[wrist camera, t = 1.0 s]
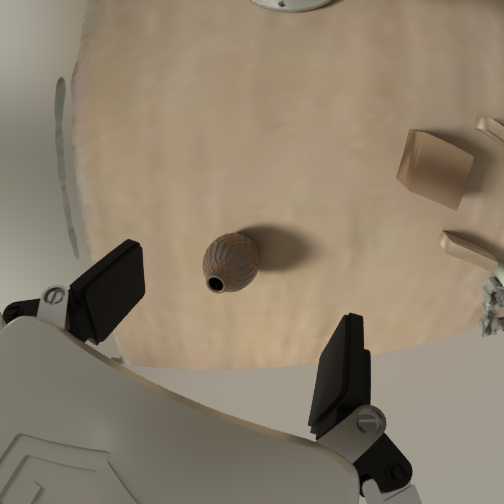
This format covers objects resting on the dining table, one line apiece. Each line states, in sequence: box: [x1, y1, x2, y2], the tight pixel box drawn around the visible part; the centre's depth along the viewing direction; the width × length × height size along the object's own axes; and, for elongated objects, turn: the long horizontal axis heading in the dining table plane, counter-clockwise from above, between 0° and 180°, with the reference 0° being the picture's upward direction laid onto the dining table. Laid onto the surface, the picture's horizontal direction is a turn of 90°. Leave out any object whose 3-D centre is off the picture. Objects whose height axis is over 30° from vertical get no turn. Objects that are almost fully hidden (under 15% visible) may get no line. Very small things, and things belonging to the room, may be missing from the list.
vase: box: [203, 233, 260, 293], centre depth 34 cm, size 7×7×9 cm
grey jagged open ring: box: [479, 277, 504, 337], centre depth 27 cm, size 11×8×4 cm
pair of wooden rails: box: [438, 117, 504, 273], centre depth 22 cm, size 17×9×4 cm, turn 170°
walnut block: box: [396, 130, 474, 211], centre depth 22 cm, size 6×6×6 cm
